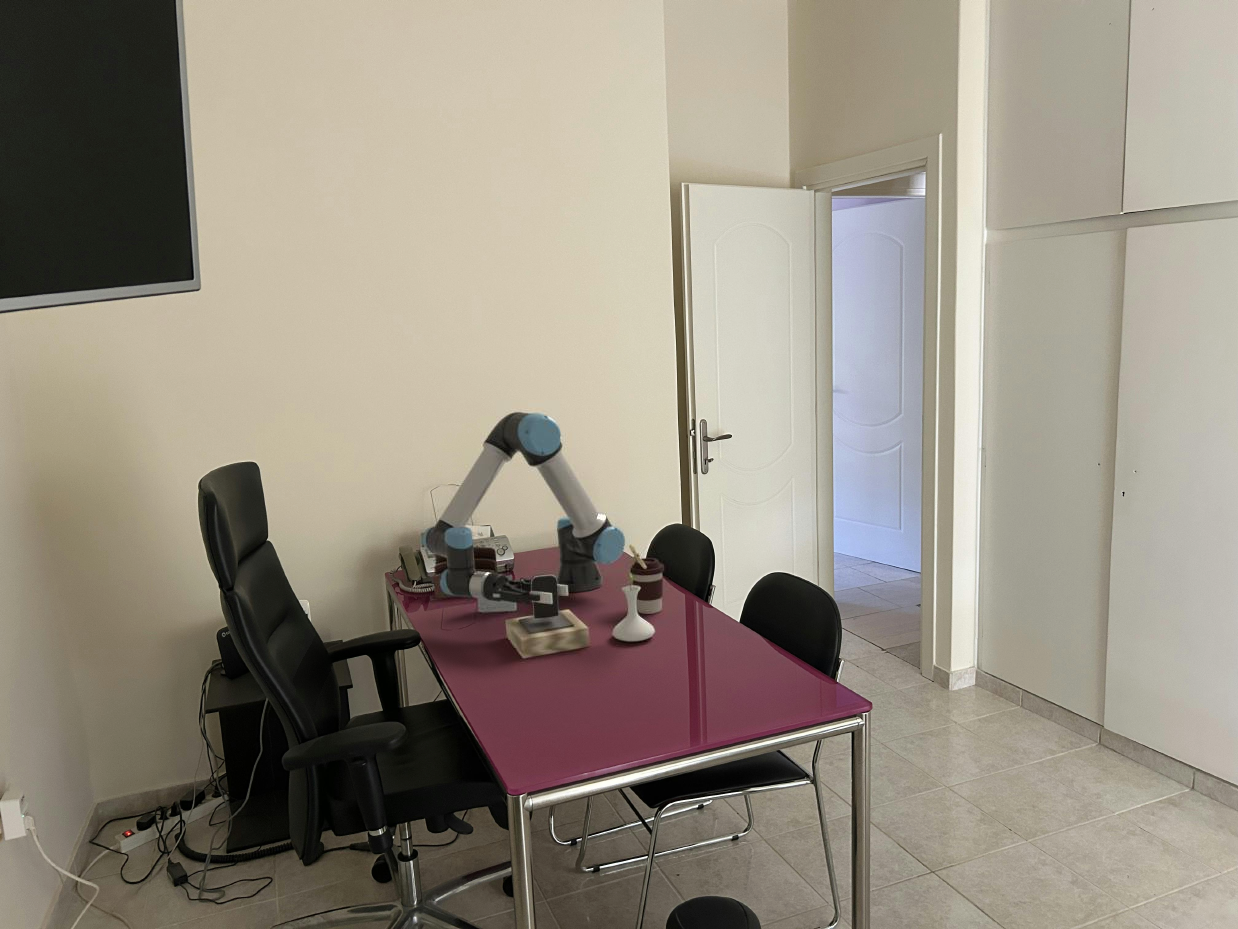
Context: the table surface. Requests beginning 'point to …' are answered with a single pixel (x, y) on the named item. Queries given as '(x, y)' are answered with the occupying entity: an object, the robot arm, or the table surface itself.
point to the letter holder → (483, 563)
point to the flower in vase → (633, 612)
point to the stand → (547, 634)
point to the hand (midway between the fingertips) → (559, 594)
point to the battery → (549, 586)
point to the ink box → (496, 604)
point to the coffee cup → (648, 585)
